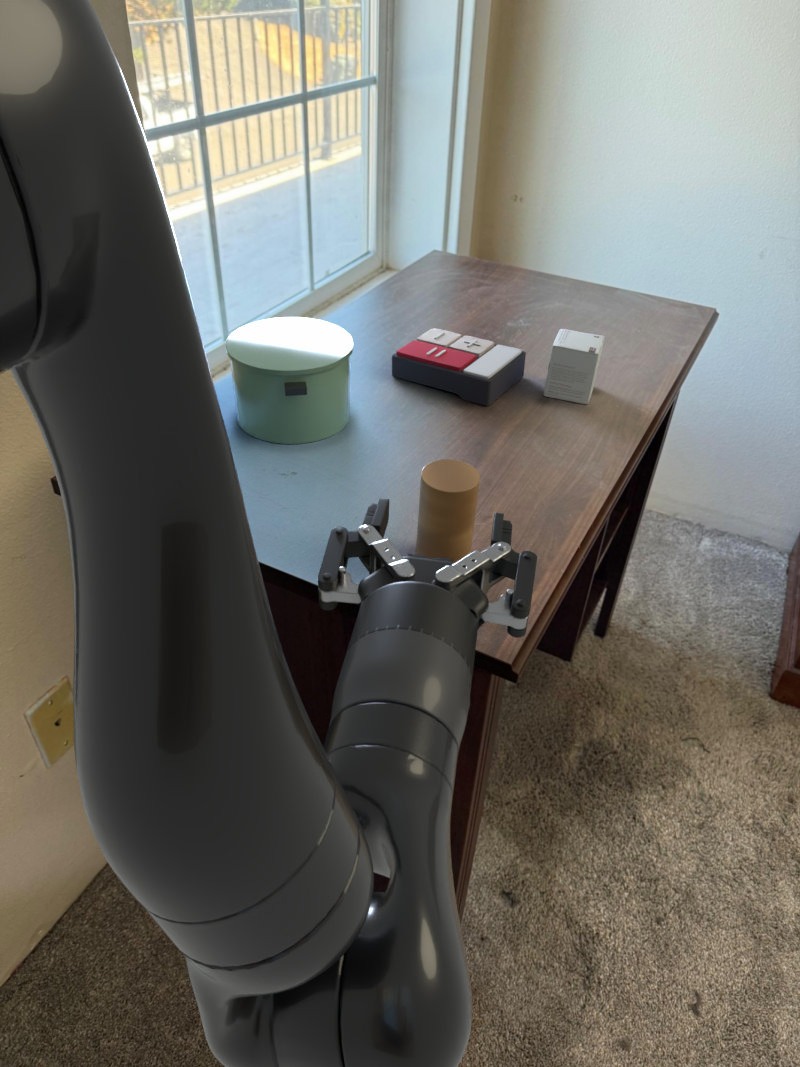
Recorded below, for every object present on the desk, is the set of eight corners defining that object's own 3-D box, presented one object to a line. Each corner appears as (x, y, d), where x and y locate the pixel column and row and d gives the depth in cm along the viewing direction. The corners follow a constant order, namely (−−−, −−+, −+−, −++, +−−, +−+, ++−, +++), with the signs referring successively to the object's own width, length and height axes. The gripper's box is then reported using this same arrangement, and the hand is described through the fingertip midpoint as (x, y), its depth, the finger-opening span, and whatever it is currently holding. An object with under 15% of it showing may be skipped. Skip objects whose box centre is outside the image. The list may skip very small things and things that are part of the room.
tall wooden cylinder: (421, 581, 69) (427, 494, 63) (410, 546, 73) (415, 461, 67) (475, 576, 70) (487, 489, 64) (461, 542, 74) (471, 457, 68)
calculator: (432, 324, 107) (527, 346, 101) (431, 352, 110) (524, 375, 103) (390, 350, 100) (490, 375, 93) (390, 380, 102) (488, 407, 96)
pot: (234, 454, 85) (225, 377, 79) (232, 386, 98) (224, 316, 92) (362, 445, 88) (363, 370, 82) (344, 381, 100) (344, 312, 94)
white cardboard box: (550, 377, 103) (559, 327, 99) (594, 385, 102) (605, 334, 97) (542, 397, 99) (551, 344, 94) (588, 405, 97) (600, 353, 93)
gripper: (539, 652, 40) (544, 484, 53) (282, 615, 41) (346, 461, 54) (521, 738, 45) (529, 565, 57) (290, 702, 46) (347, 541, 59)
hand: (440, 514), depth 56 cm, fingers open, 8 cm apart
